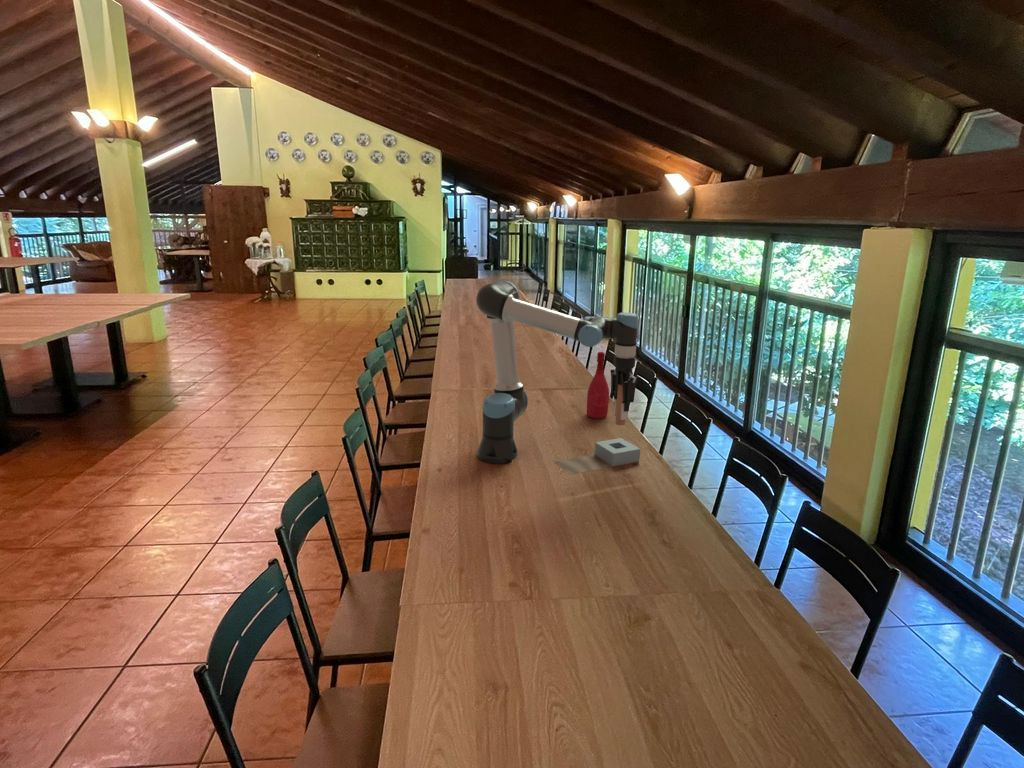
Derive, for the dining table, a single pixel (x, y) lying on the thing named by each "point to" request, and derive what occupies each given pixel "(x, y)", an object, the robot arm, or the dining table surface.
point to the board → (584, 464)
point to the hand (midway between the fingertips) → (620, 417)
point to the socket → (617, 451)
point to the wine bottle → (598, 392)
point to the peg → (619, 405)
